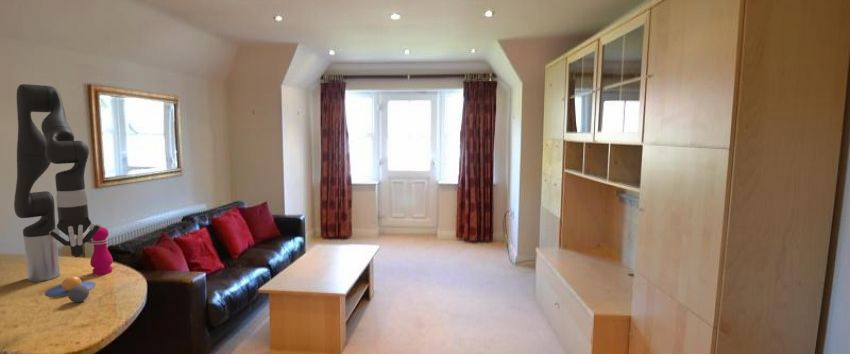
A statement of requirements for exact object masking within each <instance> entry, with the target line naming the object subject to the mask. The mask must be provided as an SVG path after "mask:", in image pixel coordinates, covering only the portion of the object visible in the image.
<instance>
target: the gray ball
mask: <svg viewBox="0 0 850 354" xmlns="http://www.w3.org/2000/svg"><path fill="white" fill-rule="evenodd" d="M89 294H90V290H88V288H87V287H85V286H82V285H78V286H75V287H73V288H72V289H71V290H70V291H69V293H68V296H67V297H68V300H70V301H71V302H73V303H81V302H83V301H85V300H86V299H88V297H89Z"/></svg>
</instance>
